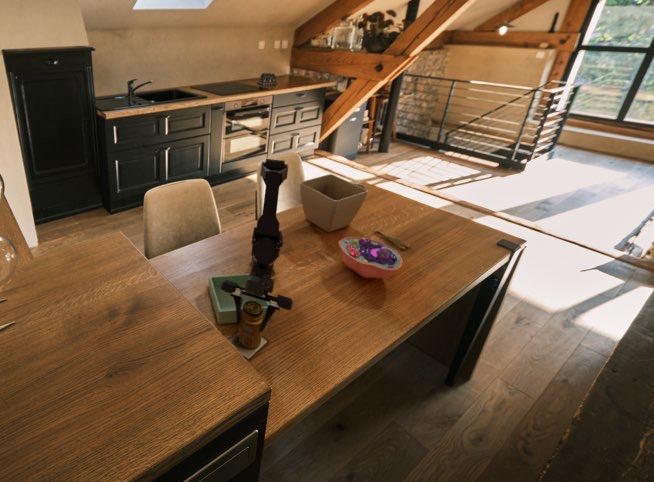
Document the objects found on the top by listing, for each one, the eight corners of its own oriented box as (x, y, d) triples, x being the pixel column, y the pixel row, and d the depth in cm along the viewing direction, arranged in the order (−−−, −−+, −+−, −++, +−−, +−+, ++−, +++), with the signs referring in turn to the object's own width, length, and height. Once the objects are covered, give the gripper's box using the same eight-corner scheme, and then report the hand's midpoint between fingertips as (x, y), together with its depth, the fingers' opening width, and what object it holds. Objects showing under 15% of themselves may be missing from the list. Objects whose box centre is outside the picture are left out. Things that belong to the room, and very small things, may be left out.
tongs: (376, 231, 155) (377, 227, 154) (409, 248, 145) (410, 244, 144) (370, 235, 152) (372, 230, 152) (403, 252, 143) (405, 248, 142)
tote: (253, 284, 125) (255, 273, 123) (269, 319, 111) (271, 307, 110) (208, 287, 124) (208, 276, 122) (218, 324, 110) (219, 311, 108)
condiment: (267, 341, 104) (271, 307, 99) (248, 359, 99) (251, 324, 94) (246, 326, 109) (249, 293, 104) (226, 342, 104) (228, 308, 99)
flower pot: (293, 216, 165) (298, 181, 158) (324, 206, 173) (331, 173, 166) (328, 239, 149) (335, 201, 143) (360, 227, 158) (369, 190, 151)
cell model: (347, 248, 144) (353, 222, 139) (404, 274, 131) (413, 246, 126) (325, 268, 133) (331, 241, 129) (386, 298, 120) (394, 269, 115)
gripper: (224, 255, 101) (209, 316, 96) (297, 274, 94) (285, 340, 89) (230, 262, 111) (217, 318, 106) (296, 279, 104) (286, 339, 99)
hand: (249, 328), depth 100 cm, fingers closed on condiment, 6 cm apart
